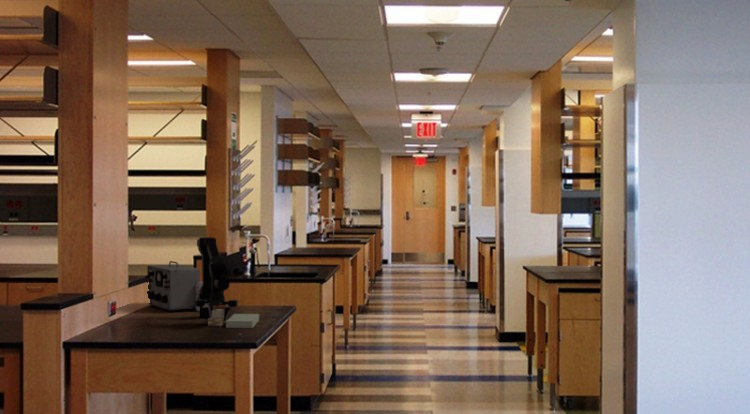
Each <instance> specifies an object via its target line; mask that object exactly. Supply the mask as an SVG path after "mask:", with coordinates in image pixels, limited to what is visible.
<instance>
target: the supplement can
mask: <svg viewBox="0 0 750 414" xmlns="http://www.w3.org/2000/svg"><path fill="white" fill-rule="evenodd" d="M202 285H203V281H200V282H197V284H196V302H197V298H198V295H199V290H200V288H201V287H202ZM195 311H196V312H199V313H200V307H196V310H195Z"/></svg>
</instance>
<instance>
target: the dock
mask: <svg viewBox="0 0 750 414" xmlns="http://www.w3.org/2000/svg"><path fill="white" fill-rule="evenodd" d="M259 321H260V314H259V313H234V314H232V315H231V316H230V317H229V318H228V319H226V322H225V328H226V329H231V328H232V329H252V328H254V327H255V326H256V324H257V323H258V322H259Z"/></svg>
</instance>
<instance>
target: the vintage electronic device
mask: <svg viewBox="0 0 750 414" xmlns="http://www.w3.org/2000/svg"><path fill="white" fill-rule="evenodd" d="M171 263H172V264H171ZM146 268H147V272H146V273H147V274H146V275H145V276H144V278H145V280H146V282H147V283H148V282H149V285H148V289H149V291H147V290H146V291H147V294H148V298H149V299H150V303H149V304H148V305H151V307H152V306H153V307H154V306H156V307H157V308H159V309H163V310H166V311H169V313H175V311H176V310H177V311H178V310H188V309H190V310H191V311H197V310H196V284H197V282H201V279H200V278H201V270H200V268H198V267H192V266H188V265H182V264H181V265H180V264H179V263H178V262H177V261H173V260H170V261H169V263H168V264H165V265H164V264H163V265H162V264H160V265H159V264H158V265H157V264H155V265H147V267H146ZM147 278H148V280H147ZM146 282H145V283H146ZM147 294H146V295H147ZM153 307H152V308H153Z"/></svg>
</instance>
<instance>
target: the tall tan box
mask: <svg viewBox="0 0 750 414" xmlns="http://www.w3.org/2000/svg"><path fill="white" fill-rule="evenodd" d="M226 321H227V320H226ZM226 321H225V322H224V315H223V317H222V318H212V317H210V318H209V319H208V318H207V325H208V327H209V326H213V327H214V326H215V327H221V326H223V325H226Z"/></svg>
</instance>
